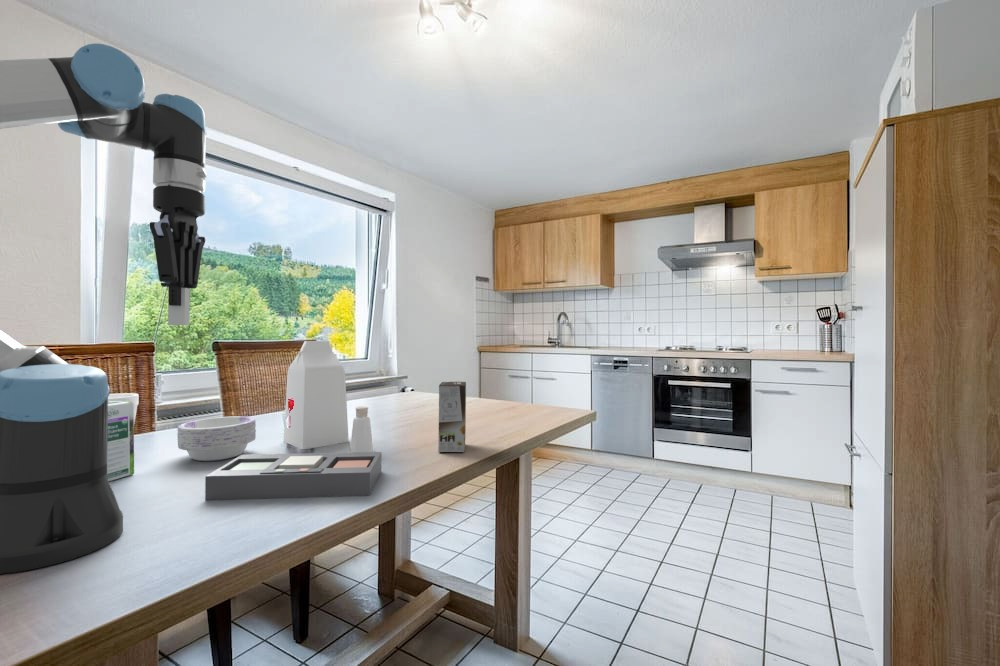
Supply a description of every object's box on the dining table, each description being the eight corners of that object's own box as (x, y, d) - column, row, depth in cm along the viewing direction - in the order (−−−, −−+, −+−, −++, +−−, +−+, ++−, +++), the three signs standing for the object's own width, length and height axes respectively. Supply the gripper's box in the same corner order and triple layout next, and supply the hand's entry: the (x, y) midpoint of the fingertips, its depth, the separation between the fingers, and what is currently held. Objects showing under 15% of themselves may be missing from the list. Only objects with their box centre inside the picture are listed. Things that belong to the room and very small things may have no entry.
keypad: (369, 495, 82) (369, 470, 82) (205, 500, 79) (205, 474, 79) (381, 471, 96) (381, 450, 96) (241, 474, 93) (242, 453, 93)
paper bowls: (171, 455, 107) (172, 420, 107) (245, 444, 117) (245, 413, 117) (183, 470, 96) (184, 431, 96) (264, 457, 106) (264, 422, 106)
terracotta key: (365, 481, 85) (365, 469, 85) (331, 481, 85) (331, 469, 85) (370, 471, 91) (370, 460, 91) (338, 472, 91) (338, 460, 91)
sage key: (261, 483, 84) (261, 471, 84) (226, 484, 83) (226, 472, 83) (274, 473, 90) (274, 462, 90) (241, 474, 89) (241, 462, 89)
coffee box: (465, 453, 111) (465, 385, 111) (437, 453, 110) (438, 385, 110) (465, 444, 120) (466, 381, 120) (440, 444, 119) (441, 381, 119)
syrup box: (105, 483, 87) (105, 405, 87) (79, 481, 88) (80, 404, 88) (134, 474, 92) (135, 401, 92) (110, 472, 94) (110, 399, 93)
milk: (302, 449, 113) (303, 341, 113) (283, 441, 121) (284, 340, 121) (348, 441, 122) (349, 341, 122) (328, 434, 130) (328, 340, 130)
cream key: (313, 476, 85) (314, 464, 85) (279, 477, 84) (279, 465, 84) (322, 467, 90) (322, 455, 90) (290, 467, 90) (290, 456, 90)
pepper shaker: (344, 456, 107) (344, 408, 107) (358, 450, 112) (358, 404, 112) (365, 458, 105) (365, 409, 105) (378, 452, 111) (378, 405, 111)
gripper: (181, 179, 76) (180, 324, 76) (220, 201, 89) (219, 325, 89) (131, 177, 75) (130, 324, 75) (178, 199, 88) (177, 325, 88)
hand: (178, 325), depth 82 cm, fingers closed
